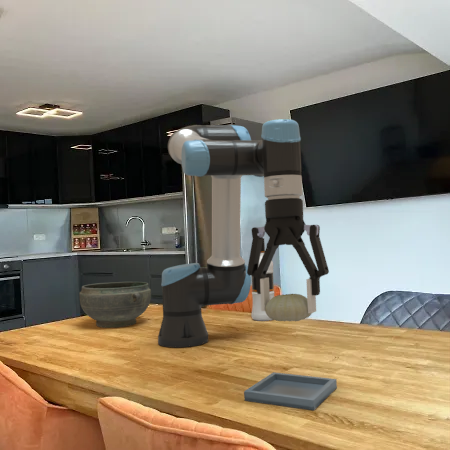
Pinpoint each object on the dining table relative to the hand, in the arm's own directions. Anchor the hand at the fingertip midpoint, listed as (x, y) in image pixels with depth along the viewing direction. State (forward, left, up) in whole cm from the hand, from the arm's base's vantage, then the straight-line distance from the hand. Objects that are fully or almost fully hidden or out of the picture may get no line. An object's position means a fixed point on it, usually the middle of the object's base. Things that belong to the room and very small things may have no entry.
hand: (288, 311), depth 100 cm
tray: (0, 0, -16) cm, 16 cm away
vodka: (-41, +76, -17) cm, 88 cm away
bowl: (-90, +51, -17) cm, 105 cm away
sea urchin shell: (0, 0, -2) cm, 2 cm away
